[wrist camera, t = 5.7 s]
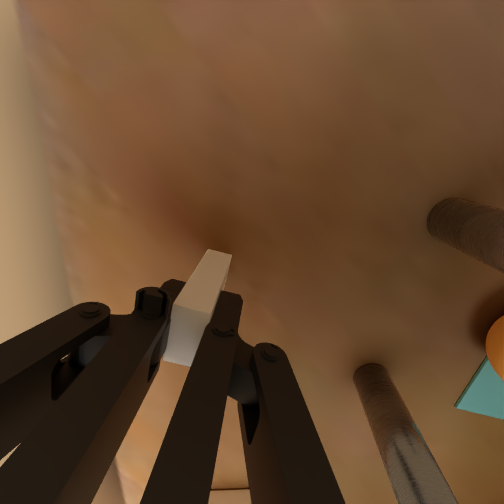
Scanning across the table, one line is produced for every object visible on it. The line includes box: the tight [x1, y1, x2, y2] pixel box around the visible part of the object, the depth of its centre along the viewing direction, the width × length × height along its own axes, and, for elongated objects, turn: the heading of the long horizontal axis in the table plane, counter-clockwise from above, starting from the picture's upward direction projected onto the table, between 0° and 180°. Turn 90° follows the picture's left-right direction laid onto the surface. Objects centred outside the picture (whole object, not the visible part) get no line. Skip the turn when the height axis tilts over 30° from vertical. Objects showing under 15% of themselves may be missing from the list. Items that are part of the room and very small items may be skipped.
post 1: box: [353, 364, 458, 504], centre depth 17 cm, size 3×3×9 cm
